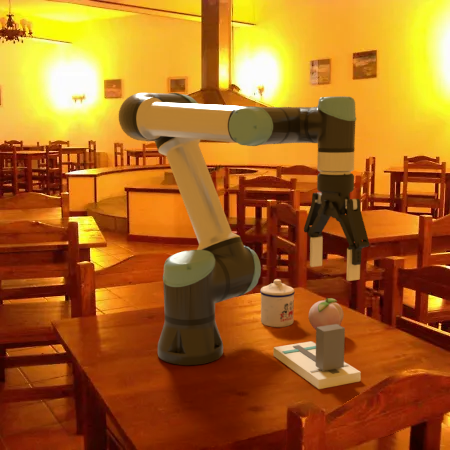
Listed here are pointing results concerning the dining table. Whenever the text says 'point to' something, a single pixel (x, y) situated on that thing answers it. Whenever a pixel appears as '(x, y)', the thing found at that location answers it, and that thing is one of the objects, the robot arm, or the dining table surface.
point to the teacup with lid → (277, 304)
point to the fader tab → (330, 347)
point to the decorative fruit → (325, 313)
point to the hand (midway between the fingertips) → (333, 272)
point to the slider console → (314, 366)
